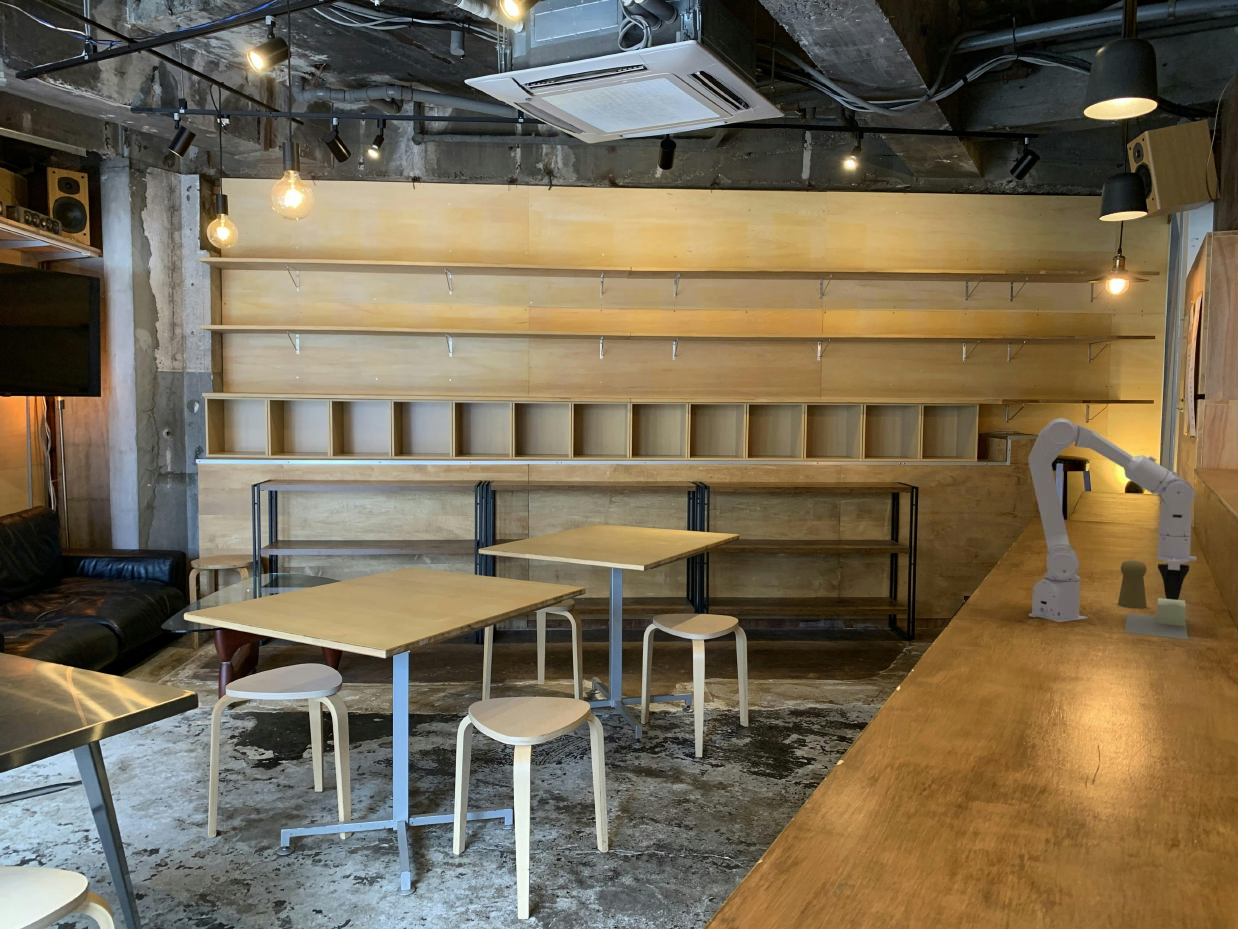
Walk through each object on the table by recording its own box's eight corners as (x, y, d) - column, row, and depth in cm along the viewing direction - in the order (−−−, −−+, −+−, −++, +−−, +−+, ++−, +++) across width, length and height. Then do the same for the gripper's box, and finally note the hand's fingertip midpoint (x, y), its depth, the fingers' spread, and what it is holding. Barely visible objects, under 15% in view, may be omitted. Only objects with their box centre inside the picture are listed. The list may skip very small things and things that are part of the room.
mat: (1187, 642, 176) (1187, 639, 176) (1123, 635, 182) (1124, 632, 182) (1185, 622, 193) (1185, 619, 193) (1127, 616, 199) (1127, 613, 199)
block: (1185, 607, 187) (1184, 600, 194) (1157, 604, 189) (1158, 598, 196) (1184, 626, 187) (1184, 618, 194) (1157, 623, 190) (1157, 616, 196)
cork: (1139, 605, 210) (1141, 559, 209) (1152, 611, 204) (1154, 563, 203) (1112, 605, 210) (1114, 559, 210) (1124, 610, 204) (1126, 563, 204)
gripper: (1198, 540, 179) (1195, 607, 179) (1196, 532, 191) (1193, 595, 192) (1157, 537, 182) (1154, 603, 183) (1157, 530, 195) (1155, 591, 195)
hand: (1172, 599), depth 188 cm, fingers closed
